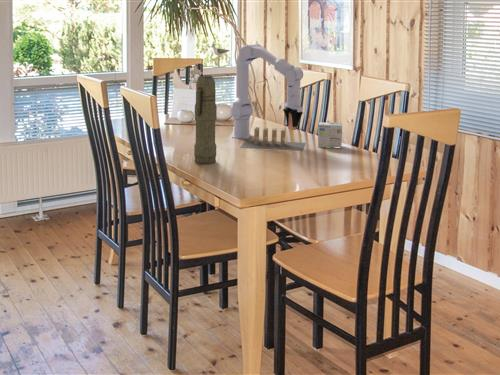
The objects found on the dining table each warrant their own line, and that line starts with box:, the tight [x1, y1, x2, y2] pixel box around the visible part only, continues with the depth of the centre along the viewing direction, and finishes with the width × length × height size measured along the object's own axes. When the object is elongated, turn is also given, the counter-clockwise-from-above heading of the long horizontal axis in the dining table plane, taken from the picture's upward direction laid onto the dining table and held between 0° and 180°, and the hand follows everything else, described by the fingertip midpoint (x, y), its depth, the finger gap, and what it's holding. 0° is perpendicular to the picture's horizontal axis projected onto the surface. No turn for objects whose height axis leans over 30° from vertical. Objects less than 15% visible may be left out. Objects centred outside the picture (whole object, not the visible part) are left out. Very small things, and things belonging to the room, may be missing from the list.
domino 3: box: [271, 127, 278, 146], centre depth 352 cm, size 2×5×7 cm, turn 172°
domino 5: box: [287, 113, 297, 131], centre depth 349 cm, size 2×5×7 cm, turn 23°
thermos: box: [193, 74, 218, 165], centre depth 314 cm, size 9×12×35 cm
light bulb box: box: [317, 121, 343, 149], centre depth 350 cm, size 11×7×11 cm, turn 84°
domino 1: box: [253, 126, 260, 145], centre depth 353 cm, size 2×5×7 cm, turn 172°
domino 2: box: [262, 127, 269, 145], centre depth 352 cm, size 2×5×7 cm, turn 172°
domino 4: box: [280, 128, 287, 146], centre depth 351 cm, size 2×5×7 cm, turn 172°
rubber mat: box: [239, 139, 307, 152], centre depth 351 cm, size 18×28×1 cm, turn 82°
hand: (292, 125), depth 349 cm, fingers closed on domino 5, 5 cm apart
